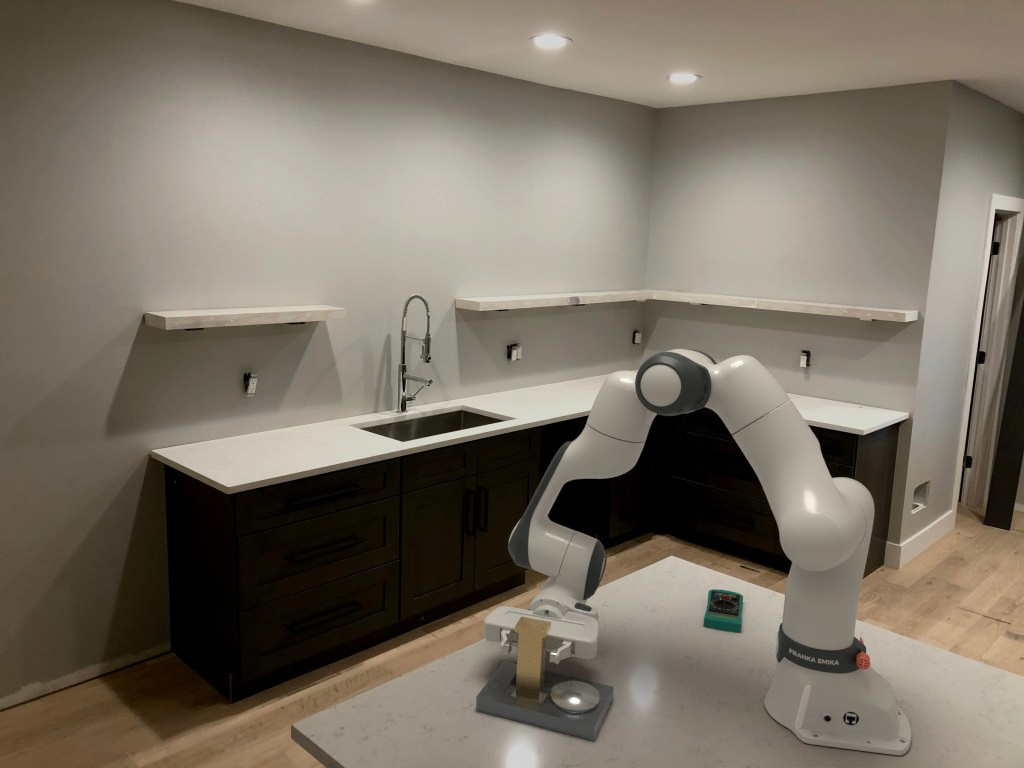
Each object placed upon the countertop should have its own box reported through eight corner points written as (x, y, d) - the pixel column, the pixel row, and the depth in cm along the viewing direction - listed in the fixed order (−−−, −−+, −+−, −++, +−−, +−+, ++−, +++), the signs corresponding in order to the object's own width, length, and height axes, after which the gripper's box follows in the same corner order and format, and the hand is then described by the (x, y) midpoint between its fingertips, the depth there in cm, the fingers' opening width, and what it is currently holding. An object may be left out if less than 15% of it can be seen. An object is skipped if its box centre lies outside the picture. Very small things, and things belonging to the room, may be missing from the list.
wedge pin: (546, 698, 135) (551, 622, 132) (541, 710, 131) (545, 632, 129) (517, 691, 136) (521, 616, 134) (511, 703, 133) (515, 626, 130)
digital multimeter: (742, 603, 173) (743, 591, 172) (740, 635, 159) (741, 621, 158) (708, 598, 175) (708, 586, 175) (702, 629, 161) (703, 615, 161)
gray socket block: (612, 700, 135) (613, 682, 134) (594, 741, 124) (595, 721, 123) (503, 674, 142) (503, 657, 141) (476, 710, 131) (476, 692, 130)
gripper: (497, 591, 147) (470, 625, 134) (606, 610, 141) (589, 648, 128) (496, 623, 148) (469, 660, 135) (605, 643, 142) (587, 684, 129)
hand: (528, 654), depth 131 cm, fingers open, 7 cm apart
